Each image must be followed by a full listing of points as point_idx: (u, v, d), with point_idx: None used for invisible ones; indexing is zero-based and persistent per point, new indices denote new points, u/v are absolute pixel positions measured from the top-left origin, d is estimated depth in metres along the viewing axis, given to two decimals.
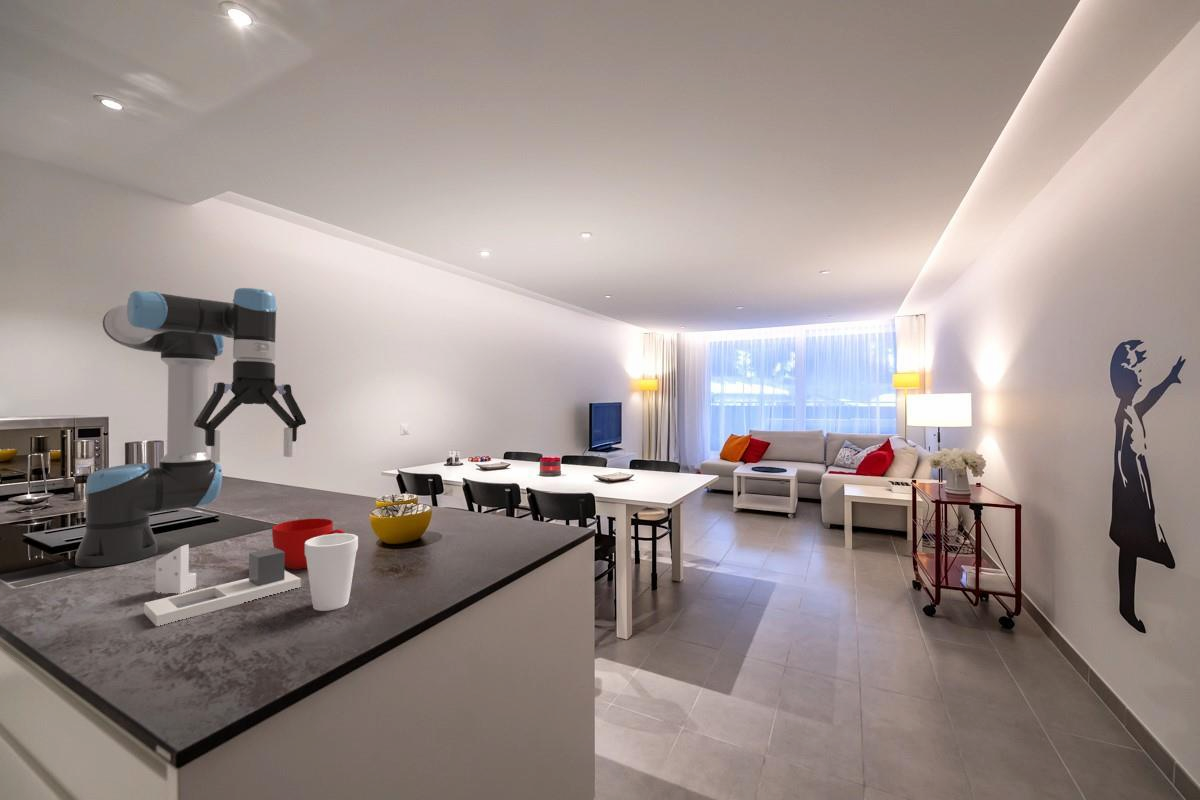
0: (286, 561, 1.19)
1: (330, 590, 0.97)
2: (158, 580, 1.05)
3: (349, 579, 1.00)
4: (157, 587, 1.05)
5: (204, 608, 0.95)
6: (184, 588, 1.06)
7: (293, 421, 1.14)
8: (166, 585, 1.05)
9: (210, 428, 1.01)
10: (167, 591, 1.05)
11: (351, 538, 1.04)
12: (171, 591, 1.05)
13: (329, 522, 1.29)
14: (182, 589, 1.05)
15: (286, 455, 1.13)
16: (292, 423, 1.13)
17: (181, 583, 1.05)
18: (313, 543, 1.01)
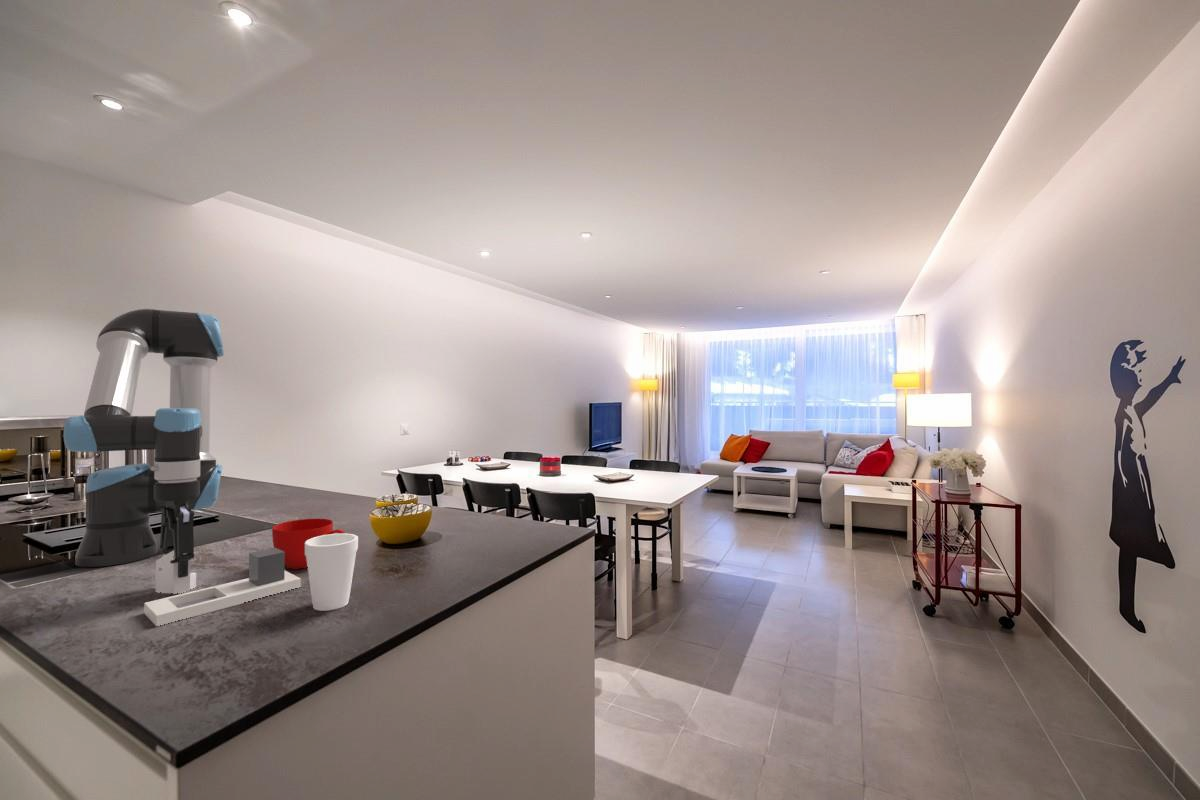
0: (286, 561, 1.19)
1: (330, 590, 0.97)
2: (158, 580, 1.05)
3: (349, 579, 1.00)
4: (157, 587, 1.05)
5: (204, 608, 0.95)
6: None
7: (175, 555, 1.03)
8: (166, 585, 1.05)
9: None
10: (167, 591, 1.05)
11: (351, 538, 1.04)
12: (171, 591, 1.05)
13: (329, 522, 1.29)
14: None
15: None
16: (175, 556, 1.03)
17: None
18: (314, 543, 1.01)
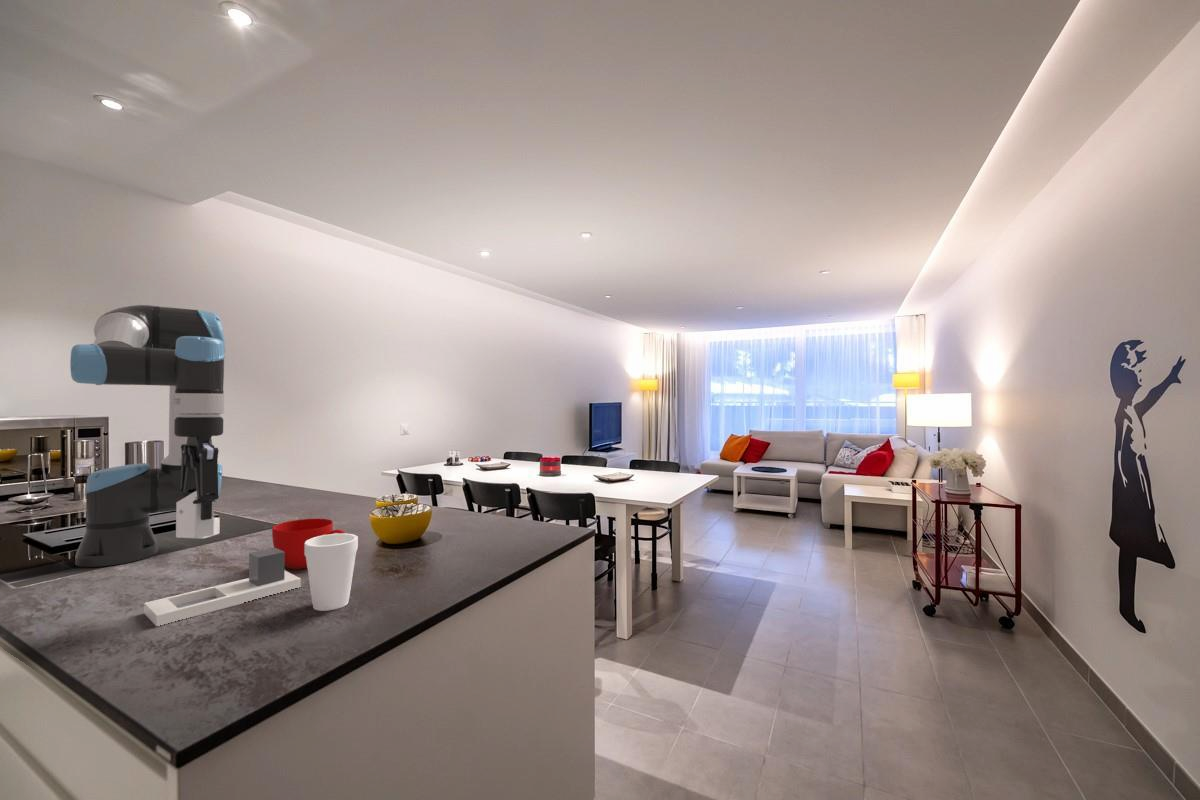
0: (286, 561, 1.19)
1: (330, 590, 0.97)
2: (179, 523, 0.97)
3: (349, 579, 1.00)
4: (178, 531, 0.97)
5: (204, 608, 0.95)
6: None
7: (198, 495, 0.94)
8: (188, 529, 0.96)
9: None
10: (189, 535, 0.96)
11: (351, 538, 1.04)
12: (193, 535, 0.96)
13: (329, 522, 1.29)
14: None
15: None
16: (197, 497, 0.95)
17: None
18: (313, 543, 1.01)
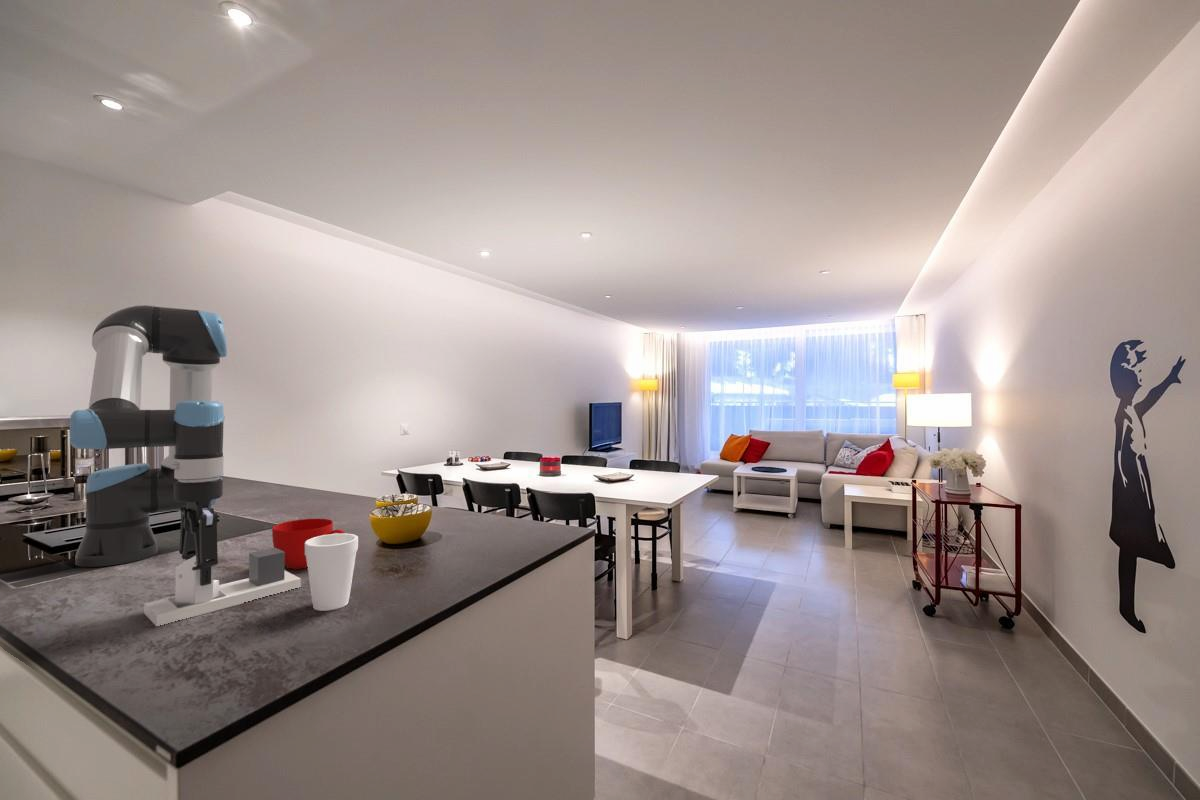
0: (286, 561, 1.19)
1: (330, 590, 0.97)
2: (178, 588, 0.97)
3: (349, 579, 1.00)
4: (177, 595, 0.97)
5: (204, 608, 0.95)
6: None
7: (197, 561, 0.94)
8: (187, 593, 0.96)
9: None
10: (188, 600, 0.96)
11: (351, 538, 1.04)
12: (192, 600, 0.96)
13: (329, 522, 1.29)
14: None
15: None
16: (197, 563, 0.95)
17: None
18: (314, 543, 1.01)
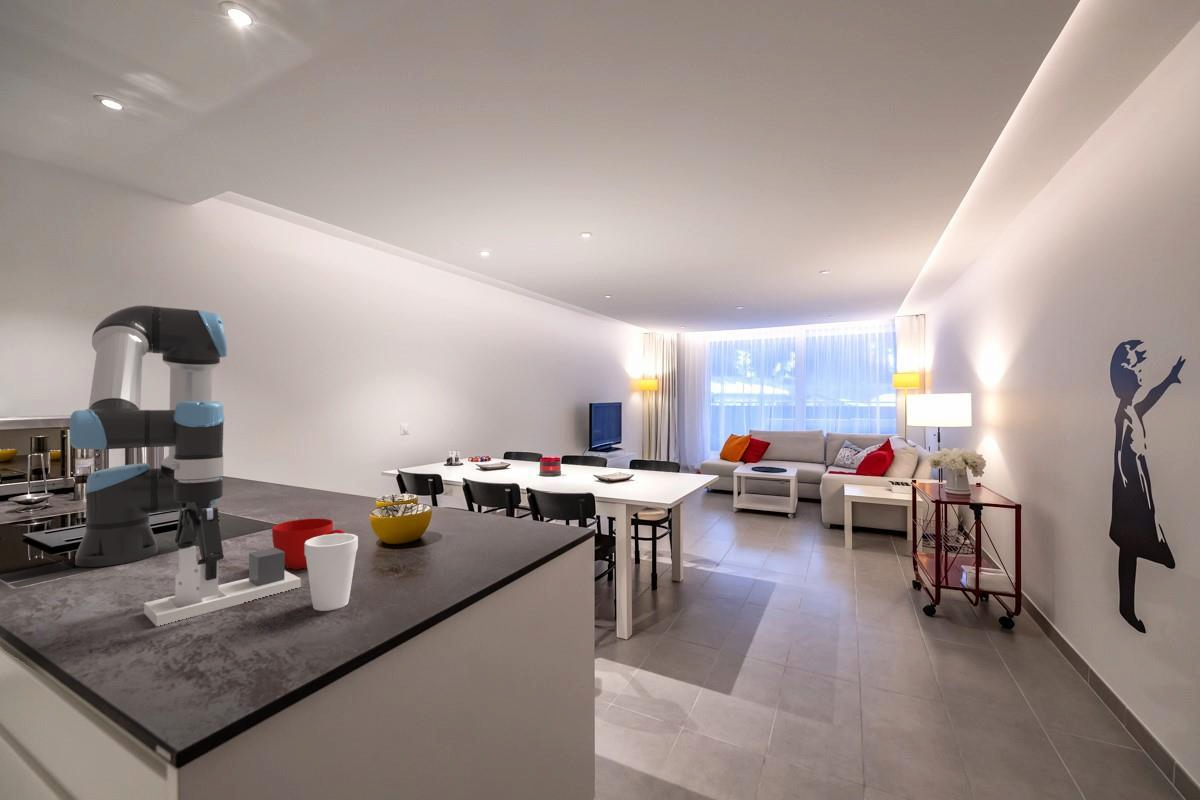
0: (286, 561, 1.19)
1: (330, 590, 0.97)
2: (178, 595, 0.97)
3: (349, 579, 1.00)
4: (177, 603, 0.97)
5: (204, 608, 0.95)
6: None
7: (202, 555, 0.93)
8: (187, 600, 0.96)
9: None
10: None
11: (351, 538, 1.04)
12: None
13: (329, 522, 1.29)
14: None
15: None
16: (202, 557, 0.93)
17: (203, 598, 0.96)
18: (313, 543, 1.01)
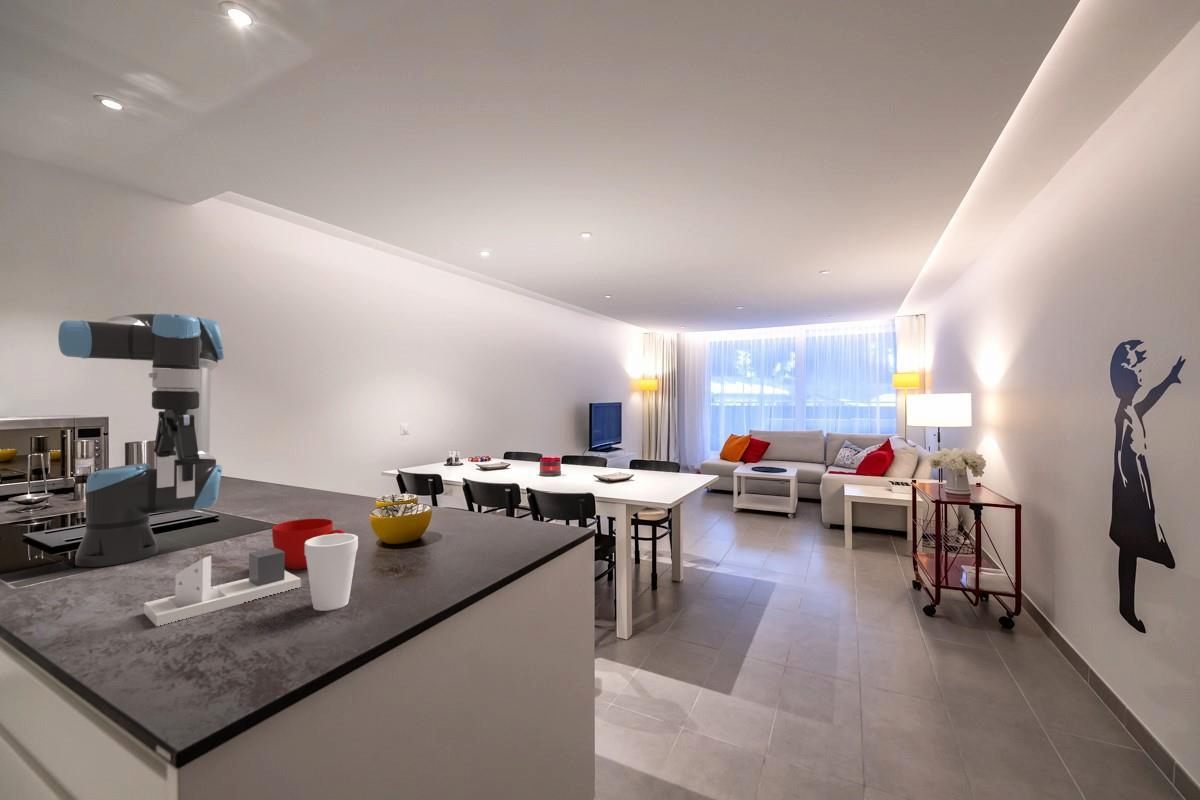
0: (286, 561, 1.19)
1: (330, 590, 0.97)
2: (178, 595, 0.97)
3: (349, 579, 1.00)
4: (177, 602, 0.97)
5: (204, 608, 0.95)
6: None
7: (179, 458, 0.99)
8: (187, 600, 0.96)
9: None
10: None
11: (351, 538, 1.04)
12: None
13: (329, 522, 1.29)
14: None
15: None
16: (179, 460, 0.99)
17: (203, 598, 0.96)
18: (313, 543, 1.01)
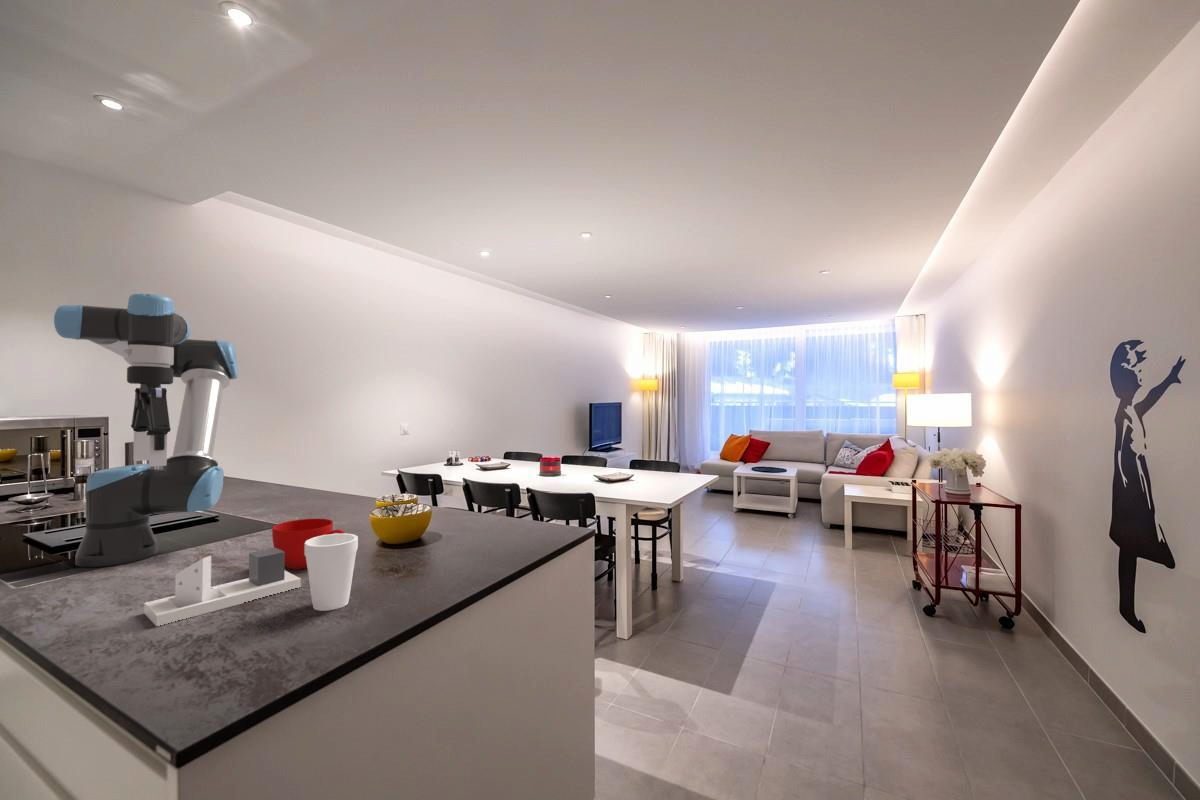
0: (286, 561, 1.19)
1: (330, 590, 0.97)
2: (178, 595, 0.97)
3: (349, 579, 1.00)
4: (177, 603, 0.97)
5: (204, 608, 0.95)
6: None
7: (151, 428, 1.04)
8: (187, 600, 0.96)
9: None
10: None
11: (351, 538, 1.04)
12: None
13: (329, 522, 1.29)
14: None
15: None
16: (151, 430, 1.04)
17: (203, 598, 0.96)
18: (313, 543, 1.01)
